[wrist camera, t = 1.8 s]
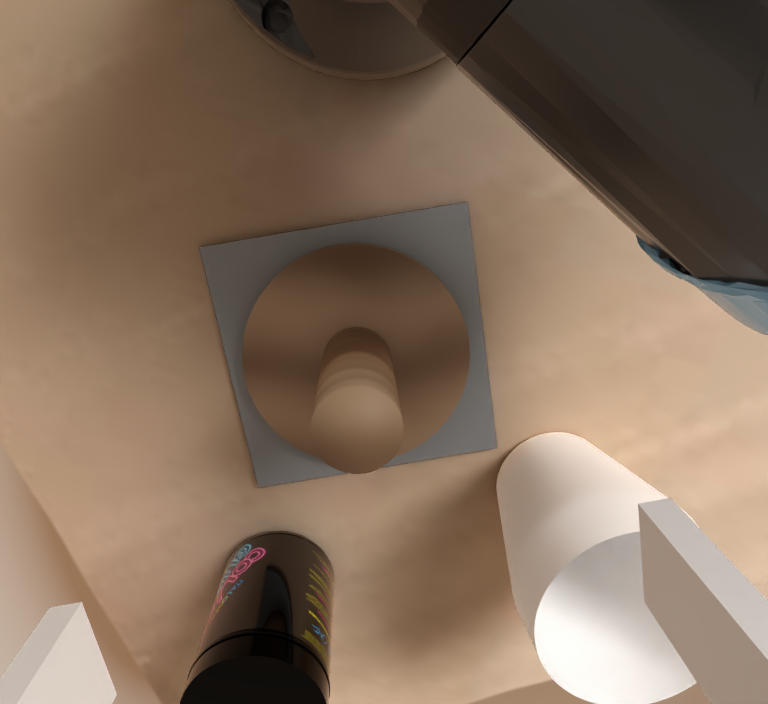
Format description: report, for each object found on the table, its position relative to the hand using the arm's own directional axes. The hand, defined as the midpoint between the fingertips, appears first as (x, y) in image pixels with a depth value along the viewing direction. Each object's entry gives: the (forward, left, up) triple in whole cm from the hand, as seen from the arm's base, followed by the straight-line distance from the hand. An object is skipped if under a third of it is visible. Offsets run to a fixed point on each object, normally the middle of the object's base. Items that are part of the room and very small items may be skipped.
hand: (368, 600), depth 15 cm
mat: (0, 0, -21) cm, 21 cm away
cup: (+10, +10, -21) cm, 25 cm away
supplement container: (+13, -7, -21) cm, 26 cm away
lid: (0, 0, -20) cm, 20 cm away
